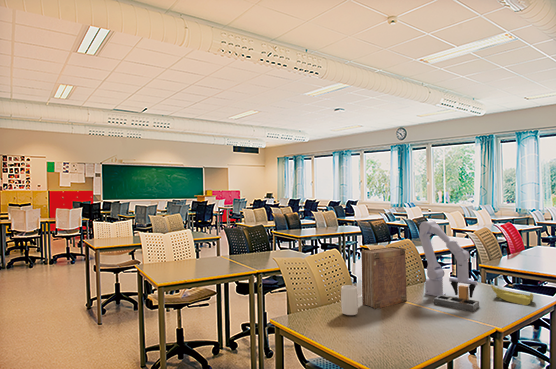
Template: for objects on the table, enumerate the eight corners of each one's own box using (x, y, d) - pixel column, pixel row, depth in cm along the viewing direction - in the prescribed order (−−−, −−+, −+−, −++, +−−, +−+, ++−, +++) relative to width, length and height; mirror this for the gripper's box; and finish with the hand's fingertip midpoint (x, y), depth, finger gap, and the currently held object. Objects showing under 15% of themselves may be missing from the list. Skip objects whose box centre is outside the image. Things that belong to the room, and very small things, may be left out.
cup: (358, 318, 182) (357, 289, 182) (341, 317, 183) (340, 289, 184) (358, 312, 190) (357, 285, 190) (341, 311, 192) (341, 284, 192)
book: (374, 309, 194) (372, 253, 195) (362, 305, 202) (360, 251, 203) (406, 301, 207) (405, 248, 208) (394, 297, 215) (392, 246, 216)
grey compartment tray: (434, 303, 201) (433, 298, 201) (440, 299, 208) (440, 294, 208) (473, 311, 187) (473, 305, 187) (479, 307, 194) (479, 301, 194)
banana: (534, 296, 203) (531, 292, 196) (532, 310, 200) (529, 306, 194) (494, 288, 216) (490, 283, 210) (491, 300, 214) (487, 296, 208)
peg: (458, 300, 206) (458, 286, 206) (461, 299, 209) (460, 285, 209) (466, 302, 203) (465, 287, 204) (468, 300, 206) (468, 286, 206)
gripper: (446, 271, 209) (447, 295, 209) (474, 275, 199) (475, 300, 198) (451, 269, 214) (452, 292, 214) (478, 272, 204) (479, 297, 203)
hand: (463, 296), depth 206 cm, fingers open, 7 cm apart
